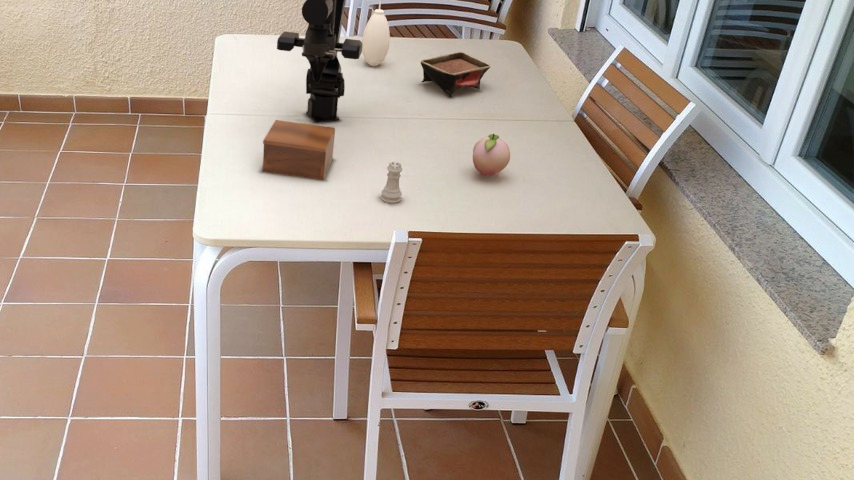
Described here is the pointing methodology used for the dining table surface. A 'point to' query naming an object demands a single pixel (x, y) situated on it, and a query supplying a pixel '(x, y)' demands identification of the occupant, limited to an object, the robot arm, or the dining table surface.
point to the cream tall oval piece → (376, 38)
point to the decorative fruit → (490, 155)
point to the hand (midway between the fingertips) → (317, 82)
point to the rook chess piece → (392, 184)
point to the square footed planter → (454, 71)
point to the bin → (297, 161)
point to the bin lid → (299, 135)
